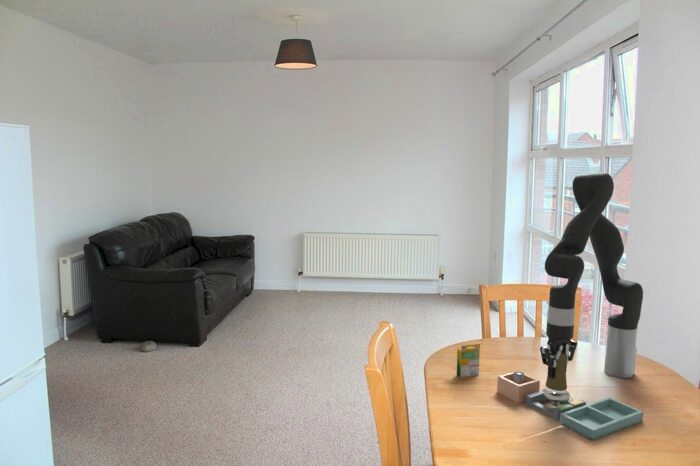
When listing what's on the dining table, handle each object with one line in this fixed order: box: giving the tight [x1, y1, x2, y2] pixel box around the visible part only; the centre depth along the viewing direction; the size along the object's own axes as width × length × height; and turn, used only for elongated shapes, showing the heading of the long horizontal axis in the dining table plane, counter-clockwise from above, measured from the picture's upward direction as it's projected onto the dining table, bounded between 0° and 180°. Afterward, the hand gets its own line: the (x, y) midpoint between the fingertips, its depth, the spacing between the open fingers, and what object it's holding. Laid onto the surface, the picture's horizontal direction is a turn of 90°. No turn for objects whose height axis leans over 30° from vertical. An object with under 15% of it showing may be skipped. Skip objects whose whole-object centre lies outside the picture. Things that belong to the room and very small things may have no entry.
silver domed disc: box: [542, 387, 571, 407], centre depth 166 cm, size 8×8×4 cm
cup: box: [496, 370, 541, 404], centre depth 175 cm, size 9×9×6 cm
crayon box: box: [456, 343, 481, 378], centre depth 191 cm, size 7×3×12 cm, turn 108°
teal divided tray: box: [559, 396, 644, 441], centre depth 159 cm, size 22×11×3 cm, turn 120°
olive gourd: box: [545, 353, 568, 391], centre depth 165 cm, size 6×6×11 cm
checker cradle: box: [525, 389, 587, 422], centre depth 167 cm, size 12×12×4 cm
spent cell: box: [513, 370, 525, 384], centre depth 175 cm, size 3×3×7 cm
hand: (556, 376), depth 165 cm, fingers closed on olive gourd, 4 cm apart
